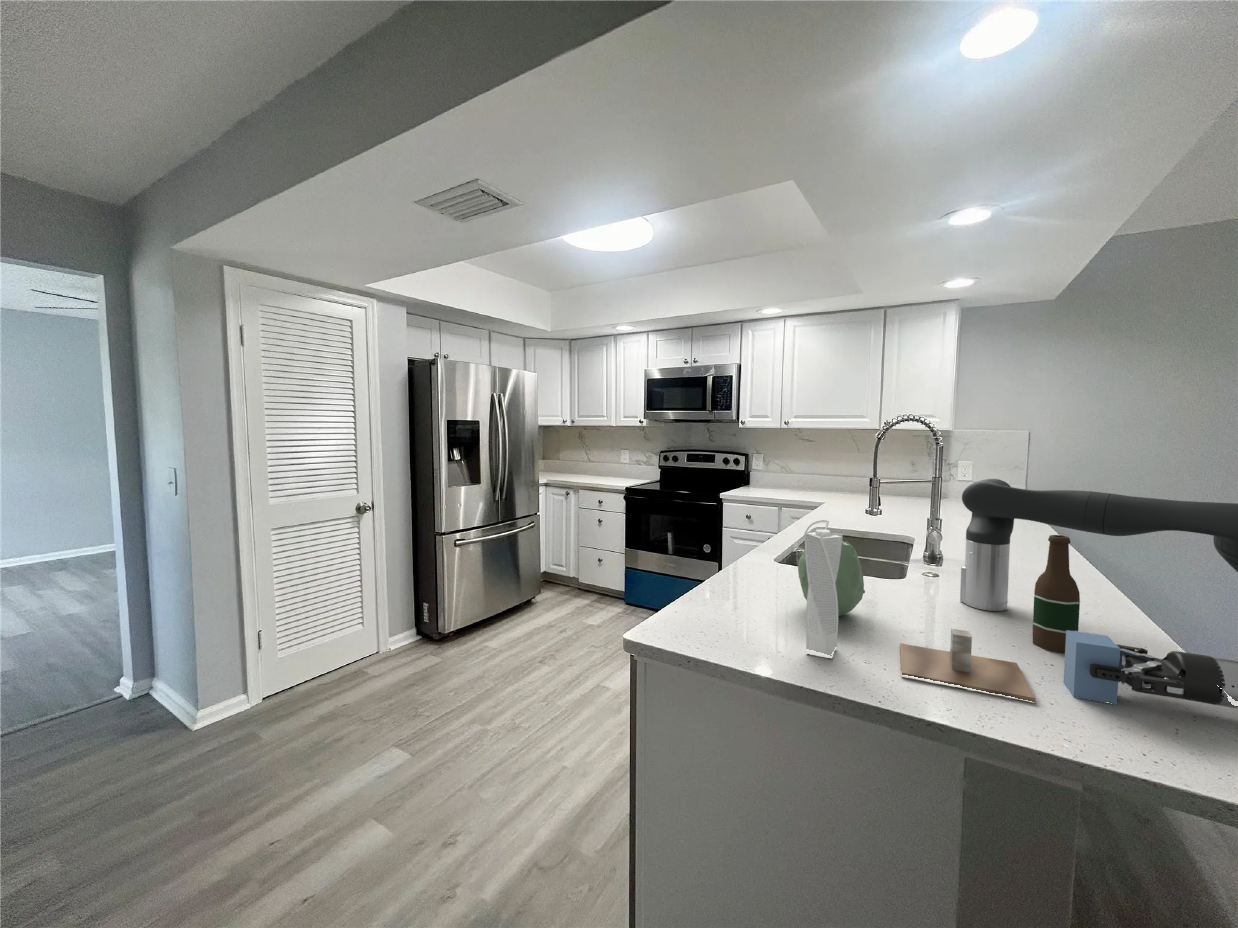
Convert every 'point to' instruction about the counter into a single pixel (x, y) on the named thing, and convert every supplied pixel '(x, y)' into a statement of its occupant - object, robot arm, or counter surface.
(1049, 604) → the beer bottle
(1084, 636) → the pale blue tall block
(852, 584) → the cabbage
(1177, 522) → the robot arm
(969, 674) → the post stand
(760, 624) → the counter surface
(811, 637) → the skyscraper
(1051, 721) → the counter surface
